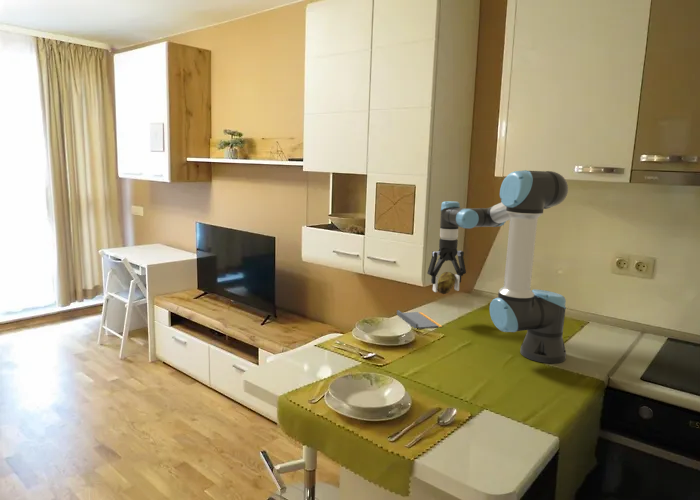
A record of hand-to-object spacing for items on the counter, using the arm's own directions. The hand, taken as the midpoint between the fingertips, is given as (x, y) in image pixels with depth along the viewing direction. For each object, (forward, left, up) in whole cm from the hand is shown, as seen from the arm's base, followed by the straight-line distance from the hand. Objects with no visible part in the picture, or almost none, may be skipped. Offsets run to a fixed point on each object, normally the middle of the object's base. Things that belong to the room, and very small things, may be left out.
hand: (445, 290), depth 217 cm
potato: (0, 0, -1) cm, 1 cm away
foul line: (+2, +6, -13) cm, 14 cm away
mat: (+2, +12, -13) cm, 18 cm away
